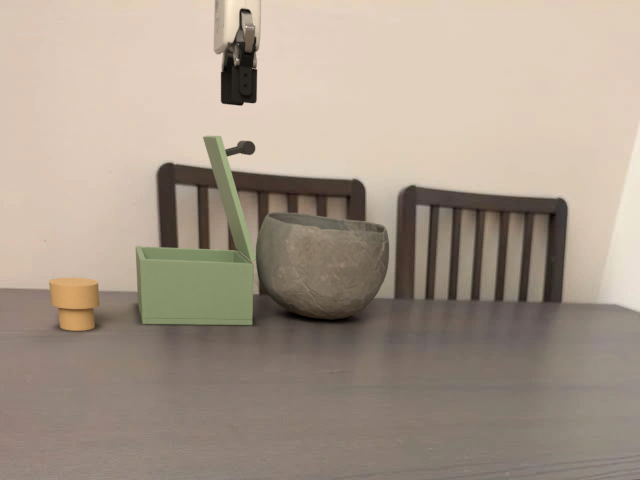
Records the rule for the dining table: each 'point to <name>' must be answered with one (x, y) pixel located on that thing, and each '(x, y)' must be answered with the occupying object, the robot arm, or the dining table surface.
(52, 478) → the dining table surface
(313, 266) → the bowl
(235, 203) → the lid
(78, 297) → the wooden stepped cylinder
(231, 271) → the green open box
